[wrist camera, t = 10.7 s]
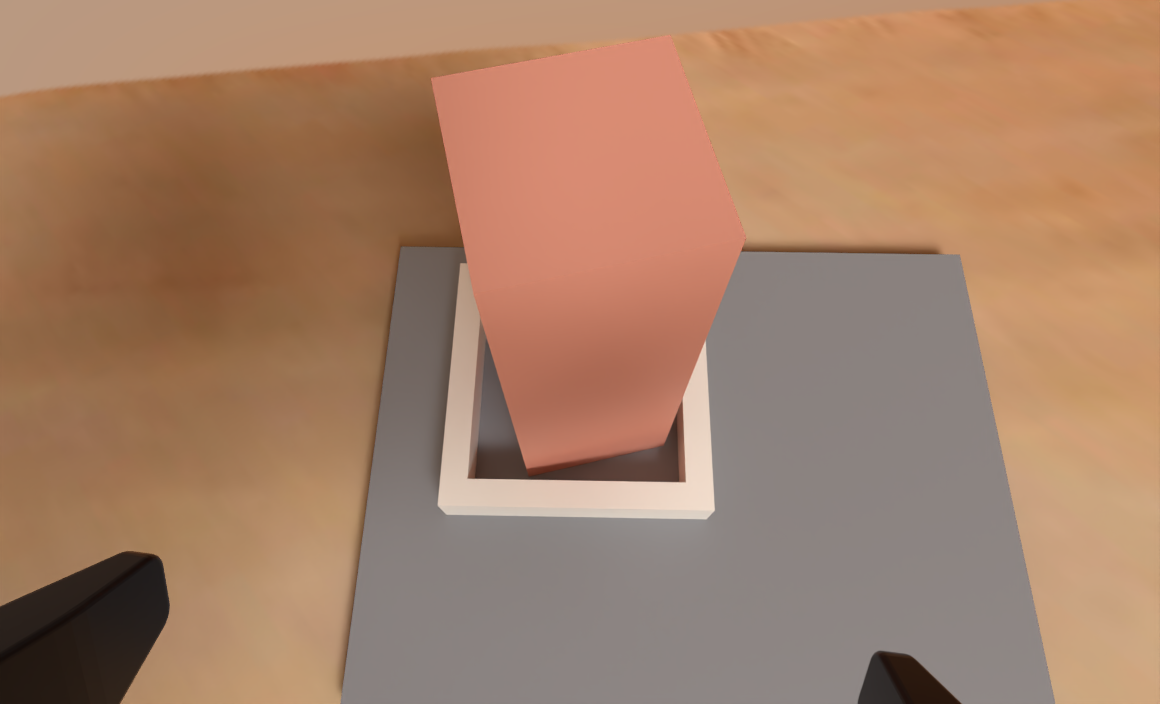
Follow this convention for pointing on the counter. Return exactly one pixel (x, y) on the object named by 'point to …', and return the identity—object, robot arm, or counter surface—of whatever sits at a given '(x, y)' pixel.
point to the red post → (589, 240)
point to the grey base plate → (702, 509)
